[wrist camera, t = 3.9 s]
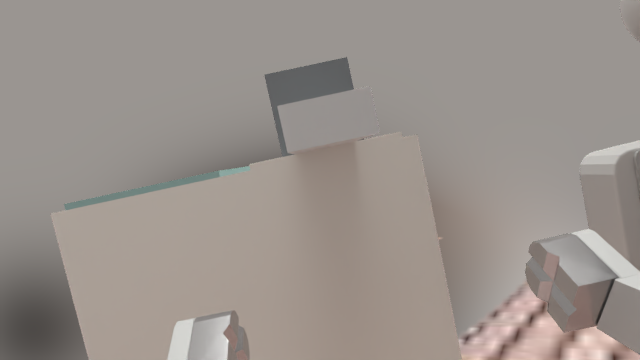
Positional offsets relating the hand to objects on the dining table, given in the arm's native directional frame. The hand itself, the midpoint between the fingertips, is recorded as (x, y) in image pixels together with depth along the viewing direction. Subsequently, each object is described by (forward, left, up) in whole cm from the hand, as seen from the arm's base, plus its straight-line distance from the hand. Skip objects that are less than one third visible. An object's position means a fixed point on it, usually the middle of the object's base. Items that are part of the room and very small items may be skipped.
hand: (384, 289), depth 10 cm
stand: (-16, -16, -22) cm, 31 cm away
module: (-15, -8, +4) cm, 17 cm away
